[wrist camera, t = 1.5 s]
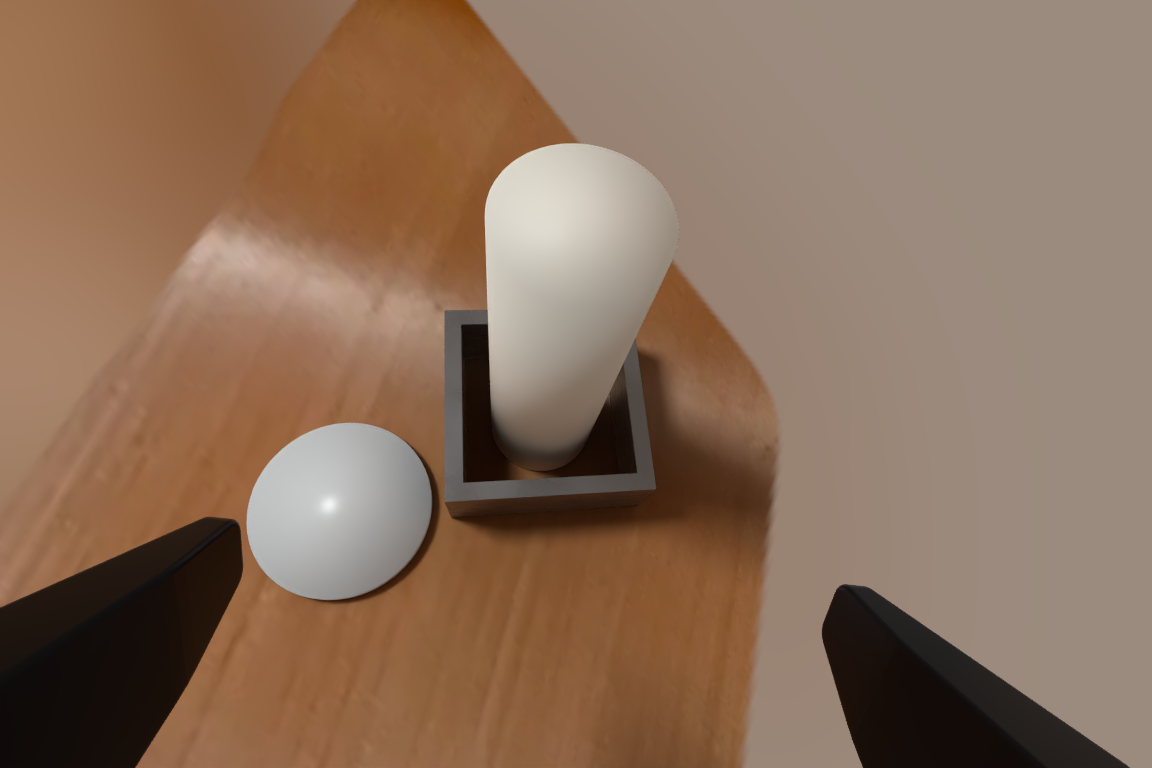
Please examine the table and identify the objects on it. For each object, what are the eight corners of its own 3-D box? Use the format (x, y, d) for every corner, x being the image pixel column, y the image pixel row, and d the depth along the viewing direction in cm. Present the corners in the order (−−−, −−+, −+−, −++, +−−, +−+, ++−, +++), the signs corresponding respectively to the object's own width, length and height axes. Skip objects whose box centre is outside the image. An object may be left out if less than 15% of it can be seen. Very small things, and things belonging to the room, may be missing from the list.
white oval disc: (431, 591, 21) (430, 591, 20) (240, 607, 20) (235, 607, 20) (433, 422, 23) (432, 419, 23) (261, 429, 22) (257, 426, 22)
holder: (637, 505, 23) (656, 489, 20) (451, 517, 22) (444, 501, 19) (617, 342, 26) (631, 308, 23) (450, 345, 25) (444, 310, 22)
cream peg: (593, 468, 23) (693, 302, 11) (492, 473, 23) (487, 305, 11) (584, 376, 25) (664, 145, 13) (489, 379, 24) (482, 141, 12)
